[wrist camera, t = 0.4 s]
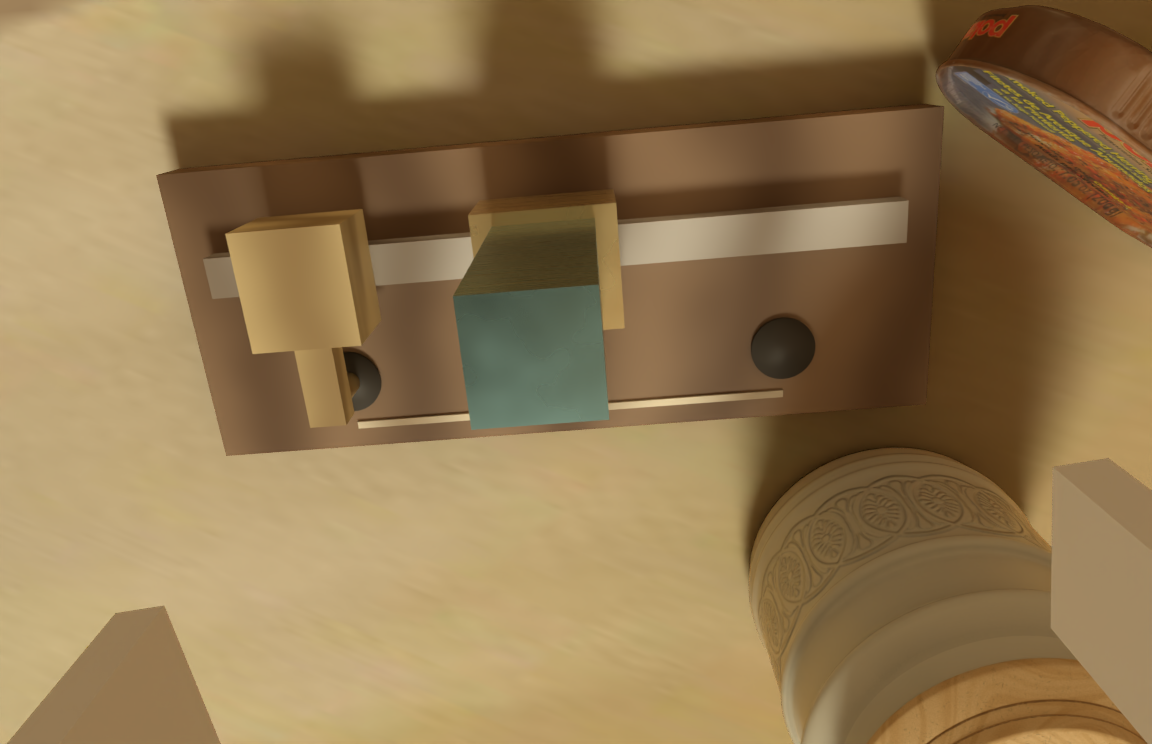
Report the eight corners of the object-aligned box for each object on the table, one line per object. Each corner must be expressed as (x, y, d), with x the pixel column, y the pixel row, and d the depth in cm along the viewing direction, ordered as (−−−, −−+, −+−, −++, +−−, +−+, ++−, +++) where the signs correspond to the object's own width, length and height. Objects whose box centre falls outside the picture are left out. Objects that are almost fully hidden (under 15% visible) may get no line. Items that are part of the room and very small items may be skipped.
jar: (737, 452, 39) (849, 744, 22) (1026, 426, 38) (1362, 706, 22) (747, 682, 43) (847, 1068, 27) (1006, 662, 43) (1273, 1044, 26)
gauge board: (243, 436, 39) (183, 502, 33) (179, 169, 35) (97, 190, 29) (909, 387, 38) (968, 446, 32) (923, 104, 34) (995, 113, 28)
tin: (900, 71, 33) (998, 74, 25) (953, -3, 32) (1073, -24, 24) (1178, 273, 36) (1346, 333, 28) (1235, 210, 35) (1425, 253, 27)
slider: (504, 385, 35) (461, 559, 23) (481, 197, 32) (418, 280, 20) (625, 376, 35) (647, 546, 23) (612, 185, 32) (629, 263, 20)
